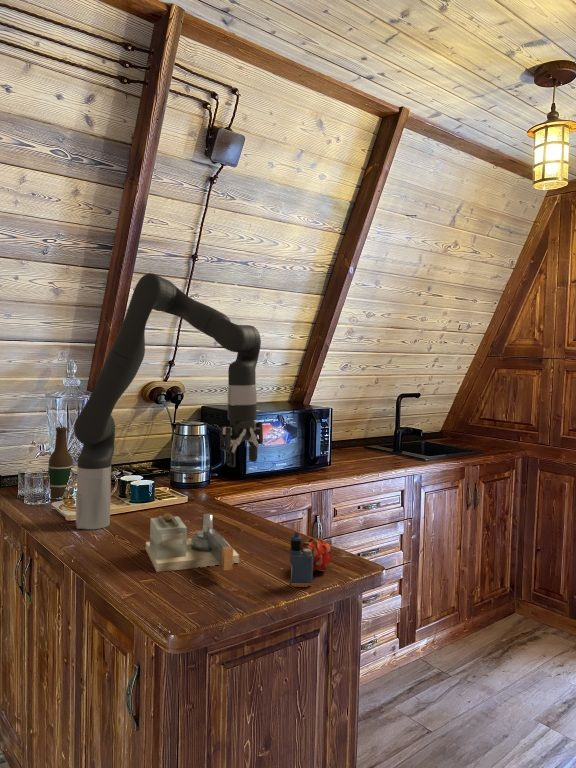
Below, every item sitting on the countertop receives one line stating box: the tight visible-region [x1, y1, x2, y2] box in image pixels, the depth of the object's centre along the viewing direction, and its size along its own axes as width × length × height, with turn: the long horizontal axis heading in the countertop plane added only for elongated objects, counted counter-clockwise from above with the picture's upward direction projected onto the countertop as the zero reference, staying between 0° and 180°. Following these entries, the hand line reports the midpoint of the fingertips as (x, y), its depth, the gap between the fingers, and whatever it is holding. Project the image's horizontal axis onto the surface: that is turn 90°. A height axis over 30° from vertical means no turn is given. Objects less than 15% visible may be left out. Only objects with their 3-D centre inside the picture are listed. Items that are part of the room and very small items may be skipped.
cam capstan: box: [190, 513, 234, 571], centre depth 143 cm, size 22×8×8 cm, turn 23°
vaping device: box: [289, 531, 314, 584], centre depth 132 cm, size 3×5×12 cm, turn 95°
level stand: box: [145, 512, 240, 573], centre depth 148 cm, size 20×16×11 cm
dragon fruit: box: [301, 537, 333, 571], centre depth 142 cm, size 8×8×12 cm
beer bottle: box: [47, 426, 74, 498], centre depth 199 cm, size 8×8×24 cm
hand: (242, 463), depth 154 cm, fingers open, 8 cm apart
